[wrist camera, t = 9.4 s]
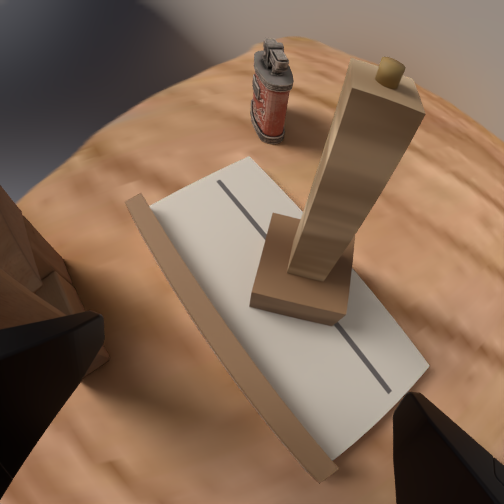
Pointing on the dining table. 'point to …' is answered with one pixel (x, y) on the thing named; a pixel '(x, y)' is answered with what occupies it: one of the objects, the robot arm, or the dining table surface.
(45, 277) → the brown wooden block structure
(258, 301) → the wooden post on base
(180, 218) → the board
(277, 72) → the lighter
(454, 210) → the dining table surface
